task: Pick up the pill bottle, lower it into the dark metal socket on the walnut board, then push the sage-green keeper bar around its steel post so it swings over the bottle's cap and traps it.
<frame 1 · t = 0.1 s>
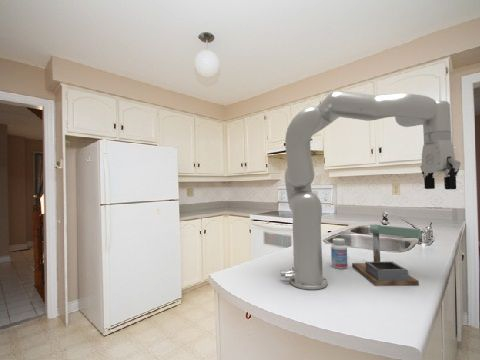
hand: (439, 189, 88), 31 cm above the worktop, tool pointing down, fingers open, 9 cm apart
pill bottle: (339, 267, 106), on the worktop
walnut board: (381, 275, 95), on the worktop
milk bottle: (306, 256, 123), on the worktop
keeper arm: (393, 230, 98), point 16 cm above the worktop, hinge at 55.0°
socket: (386, 280, 90), resting on walnut board
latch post: (377, 268, 103), resting on walnut board
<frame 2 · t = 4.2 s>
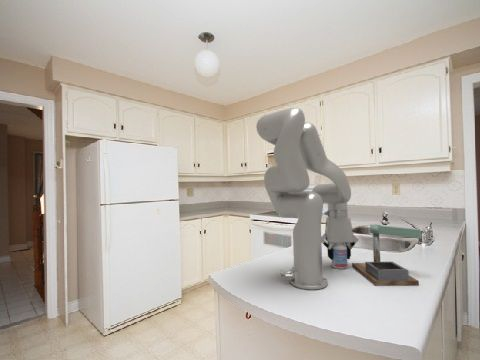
hand: (339, 258, 106), 4 cm above the worktop, tool pointing down, fingers closed on pill bottle, 6 cm apart
pill bottle: (339, 267, 106), on the worktop, touching gripper
everything else where it was.
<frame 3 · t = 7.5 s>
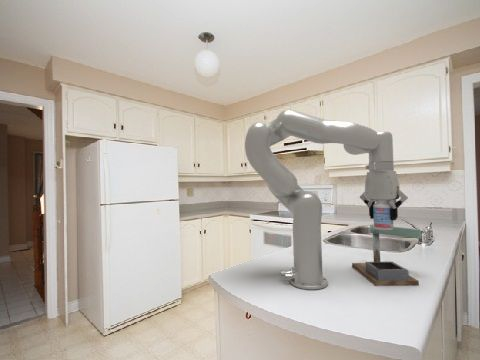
hand: (383, 218, 91), 21 cm above the worktop, tool pointing down, fingers closed on pill bottle, 6 cm apart
pill bottle: (383, 229, 91), point 17 cm above the worktop, touching gripper
everything else where it was.
when the fingers open (6 cm above the worktop, at t = 10.7 s): pill bottle drops 1 cm, resting on walnut board.
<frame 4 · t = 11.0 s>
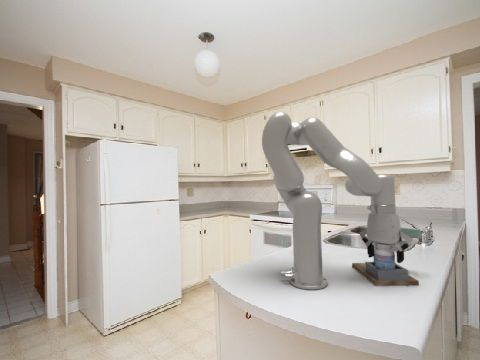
hand: (385, 259, 90), 7 cm above the worktop, tool pointing down, fingers open, 9 cm apart
pill bottle: (385, 276, 90), point 1 cm above the worktop, touching walnut board
everything else where it was.
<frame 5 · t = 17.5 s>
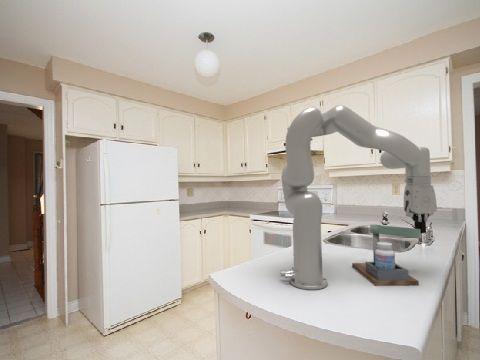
hand: (420, 232, 94), 16 cm above the worktop, tool pointing down, fingers closed
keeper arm: (393, 230, 98), point 16 cm above the worktop, hinge at 54.8°, touching gripper
everything else where it was.
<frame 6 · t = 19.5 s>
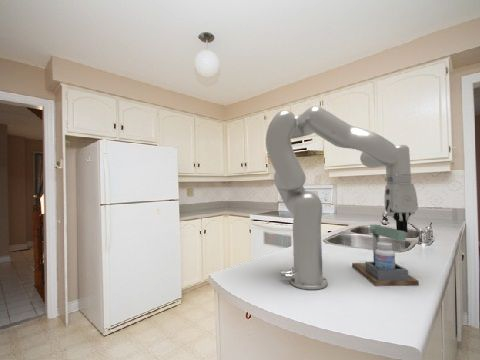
hand: (402, 231, 92), 16 cm above the worktop, tool pointing down, fingers closed
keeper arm: (386, 231, 97), point 16 cm above the worktop, hinge at 20.6°, touching gripper
everything else where it was.
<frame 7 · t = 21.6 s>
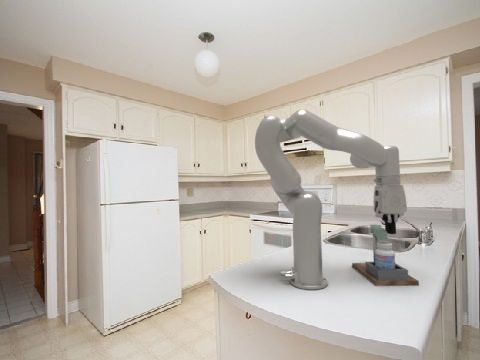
hand: (390, 233, 92), 16 cm above the worktop, tool pointing down, fingers closed
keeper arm: (378, 231, 97), point 16 cm above the worktop, hinge at -2.2°, touching gripper
everything else where it was.
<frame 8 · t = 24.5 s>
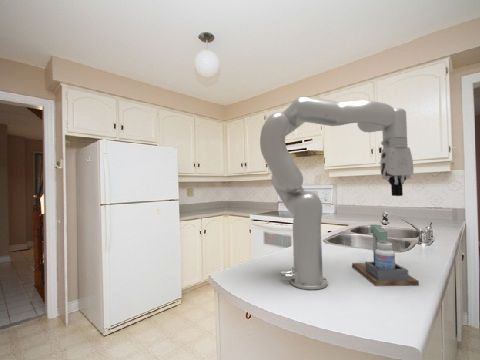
hand: (397, 195, 93), 29 cm above the worktop, tool pointing down, fingers closed
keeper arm: (378, 231, 97), point 16 cm above the worktop, hinge at -2.4°
everything else where it was.
at the end: pill bottle 0.1 cm off-centre on the socket, point 1.3 cm above the socket's base; pill bottle tilted 0°; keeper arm at -2° (first picture: +55°) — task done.
